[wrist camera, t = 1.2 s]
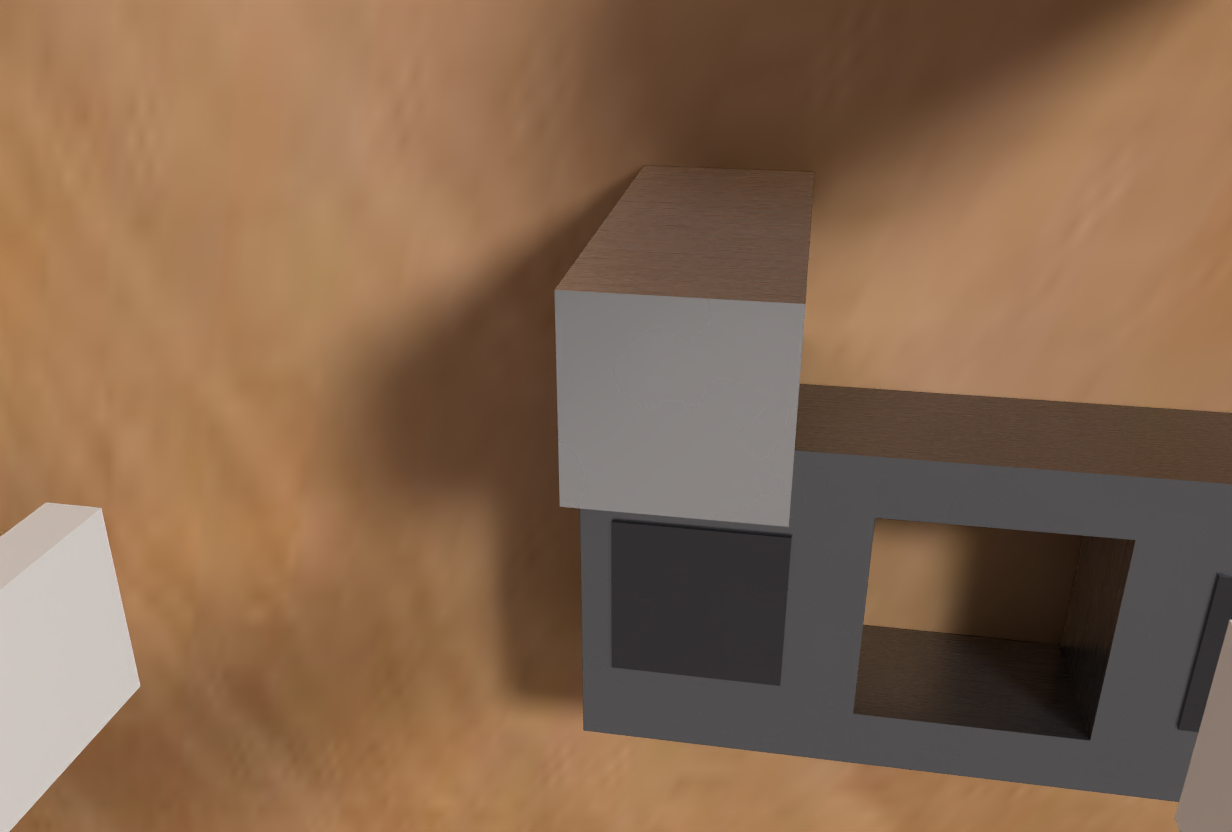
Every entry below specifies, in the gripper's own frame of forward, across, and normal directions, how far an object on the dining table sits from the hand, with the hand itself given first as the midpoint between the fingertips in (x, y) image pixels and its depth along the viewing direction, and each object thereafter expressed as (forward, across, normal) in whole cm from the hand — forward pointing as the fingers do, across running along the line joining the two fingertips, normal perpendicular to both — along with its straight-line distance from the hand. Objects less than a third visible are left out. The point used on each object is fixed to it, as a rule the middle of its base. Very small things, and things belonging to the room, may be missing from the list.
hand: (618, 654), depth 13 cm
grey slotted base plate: (+17, +7, -8) cm, 20 cm away
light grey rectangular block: (+17, 0, 0) cm, 17 cm away
